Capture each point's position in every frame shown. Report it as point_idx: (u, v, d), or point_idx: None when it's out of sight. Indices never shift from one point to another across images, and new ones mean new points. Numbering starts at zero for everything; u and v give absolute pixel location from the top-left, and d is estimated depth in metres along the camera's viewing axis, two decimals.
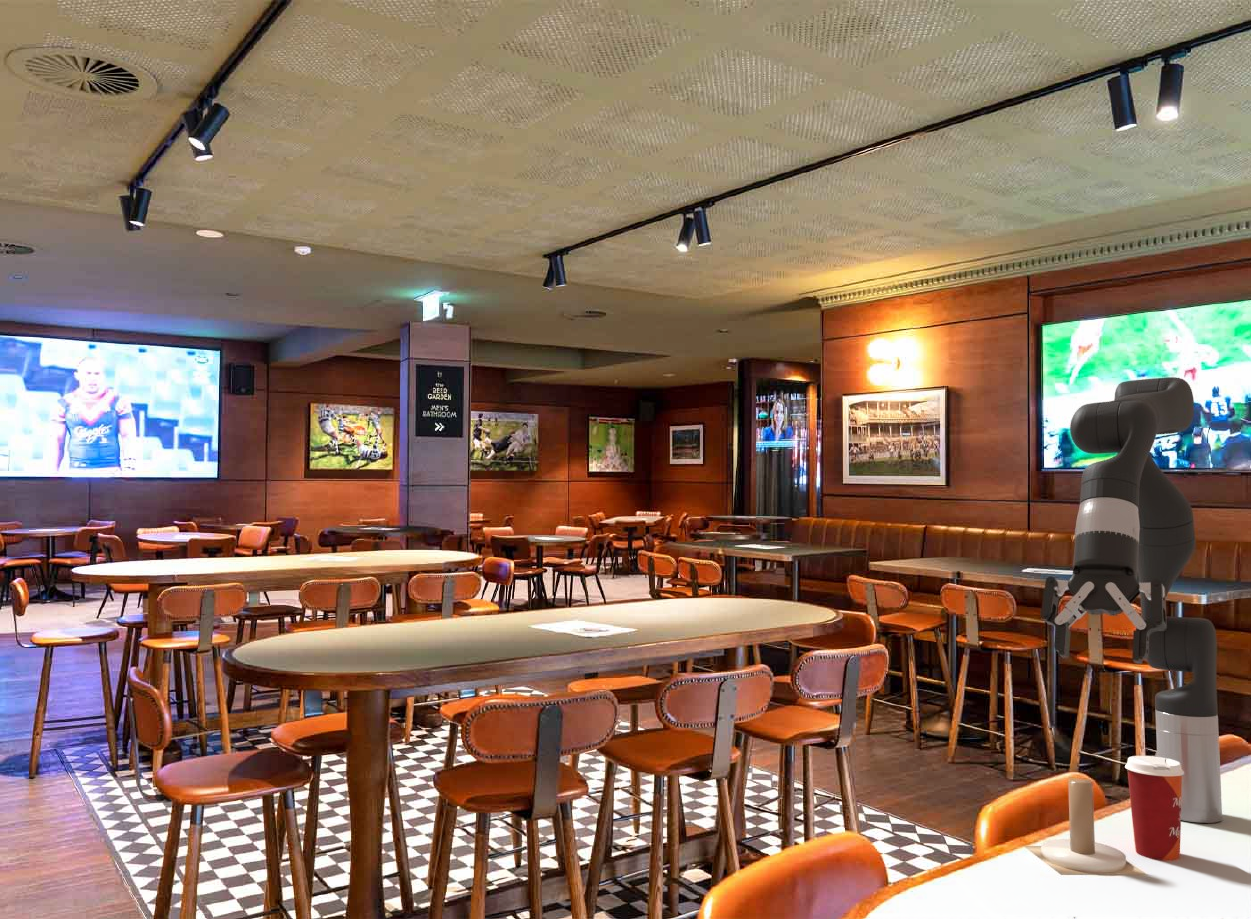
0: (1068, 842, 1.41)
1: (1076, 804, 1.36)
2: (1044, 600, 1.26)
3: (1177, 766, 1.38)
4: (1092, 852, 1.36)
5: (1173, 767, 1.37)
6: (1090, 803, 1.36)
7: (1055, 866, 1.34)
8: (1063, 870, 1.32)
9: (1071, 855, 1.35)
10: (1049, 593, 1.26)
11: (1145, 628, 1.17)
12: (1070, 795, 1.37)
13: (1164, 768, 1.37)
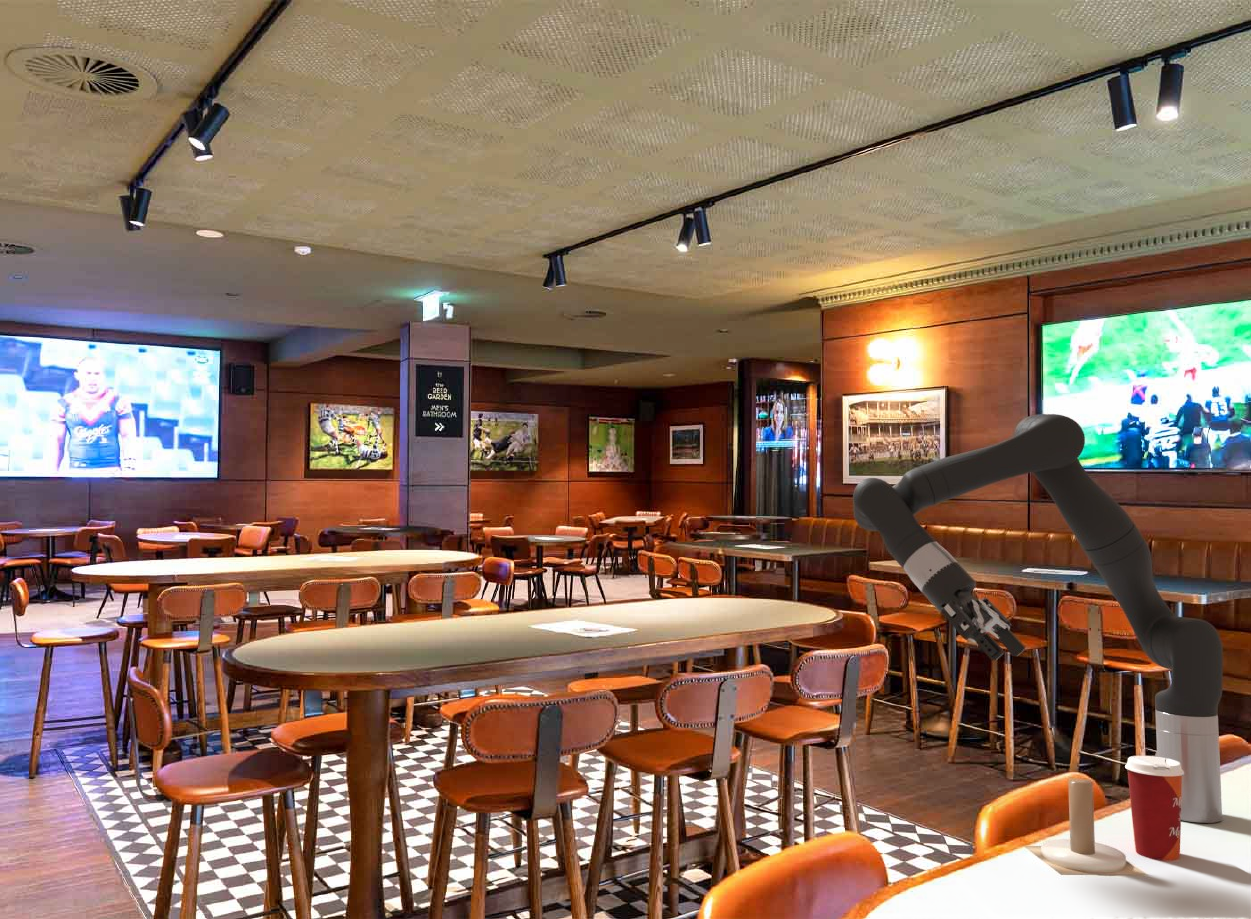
0: (1068, 842, 1.41)
1: (1076, 804, 1.36)
2: None
3: (1177, 766, 1.38)
4: (1092, 852, 1.36)
5: (1173, 767, 1.37)
6: (1090, 803, 1.36)
7: (1055, 866, 1.34)
8: (1063, 870, 1.32)
9: (1071, 855, 1.35)
10: None
11: (973, 640, 1.45)
12: (1070, 795, 1.37)
13: (1164, 768, 1.37)
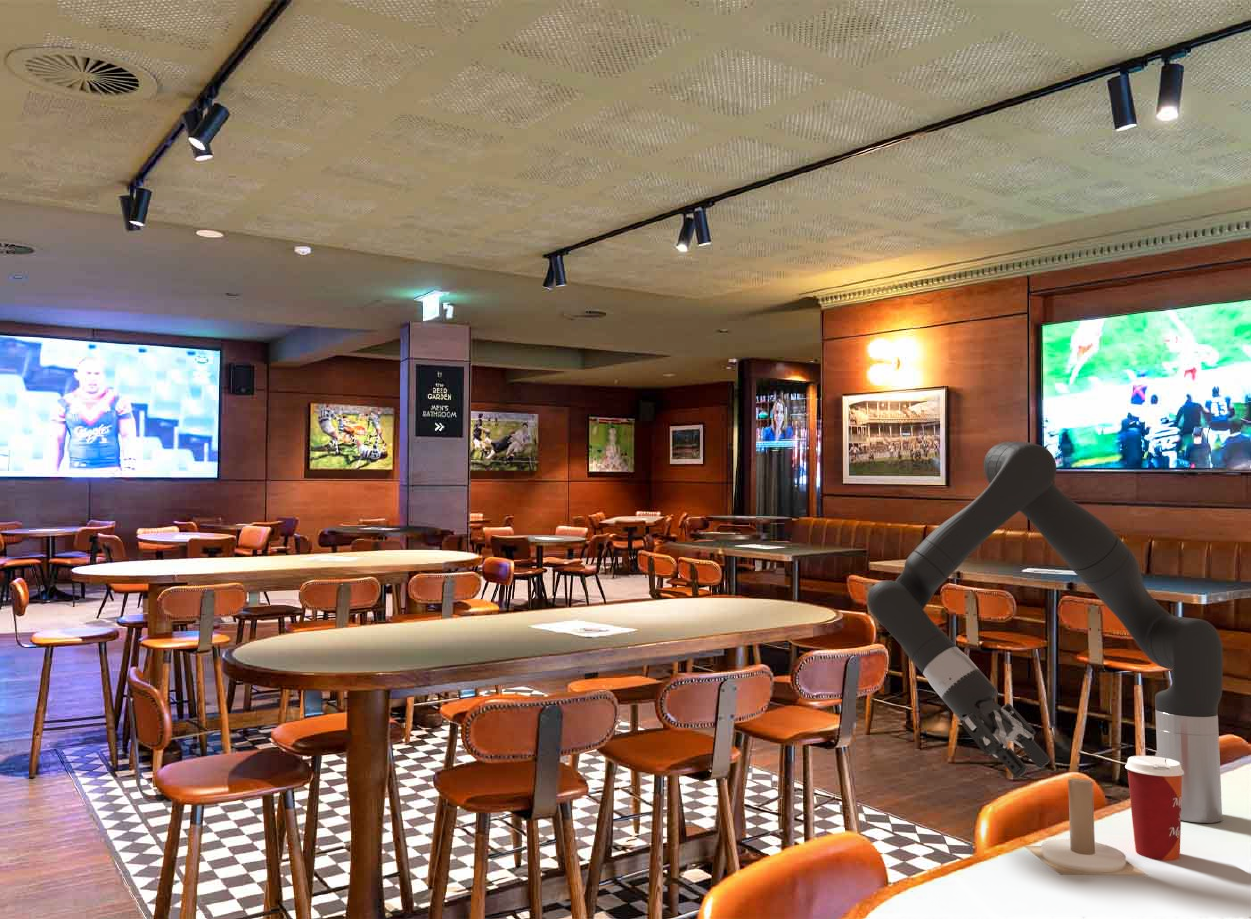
0: (1068, 842, 1.41)
1: (1076, 804, 1.36)
2: None
3: (1177, 766, 1.38)
4: (1092, 852, 1.36)
5: (1173, 767, 1.37)
6: (1090, 803, 1.36)
7: (1055, 866, 1.34)
8: (1063, 870, 1.32)
9: (1071, 855, 1.35)
10: None
11: (995, 755, 1.41)
12: (1070, 795, 1.37)
13: (1164, 768, 1.37)
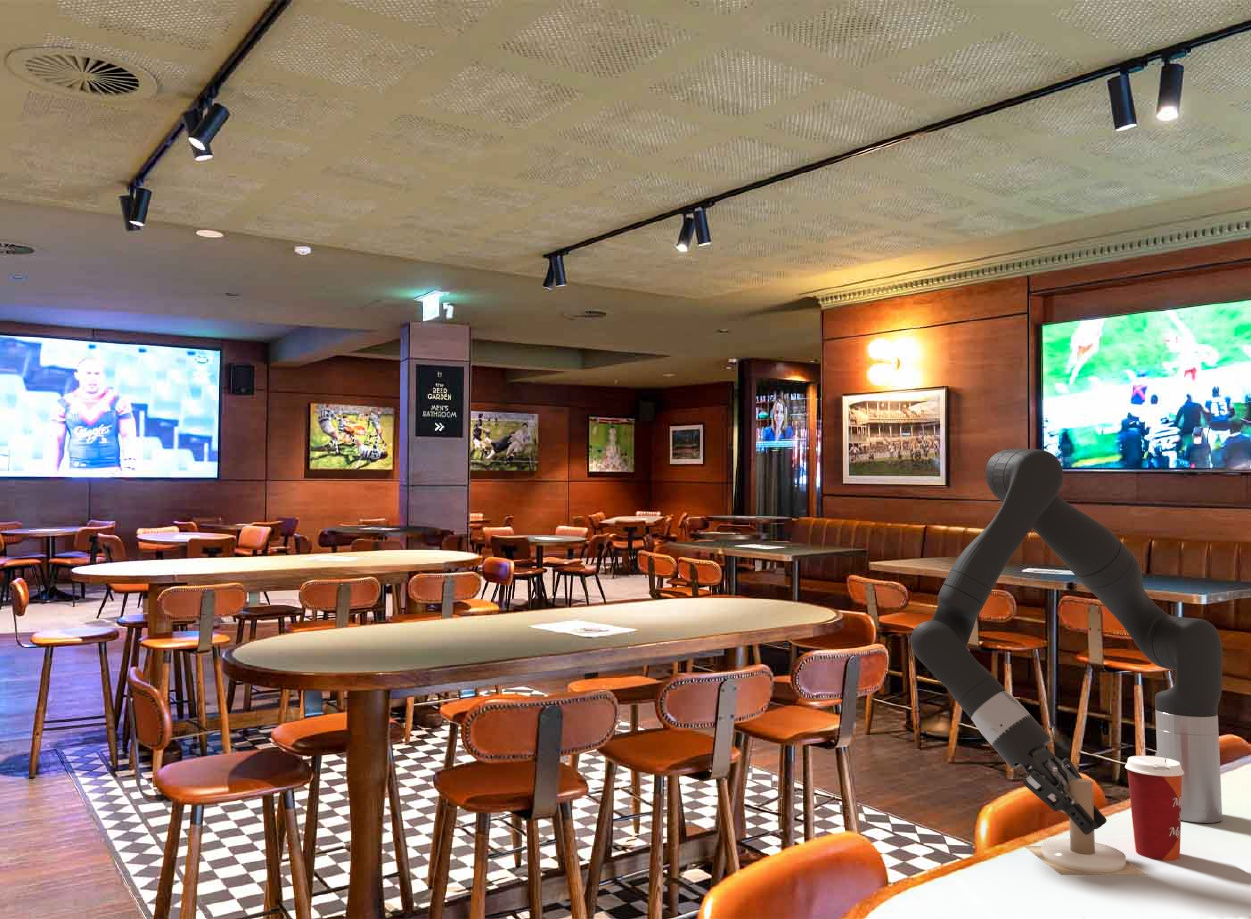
0: (1068, 842, 1.41)
1: (1076, 804, 1.36)
2: None
3: (1177, 766, 1.38)
4: (1092, 852, 1.36)
5: (1173, 767, 1.37)
6: (1090, 803, 1.36)
7: (1055, 866, 1.34)
8: (1063, 870, 1.32)
9: (1071, 855, 1.35)
10: None
11: (1063, 811, 1.36)
12: None
13: (1164, 768, 1.37)
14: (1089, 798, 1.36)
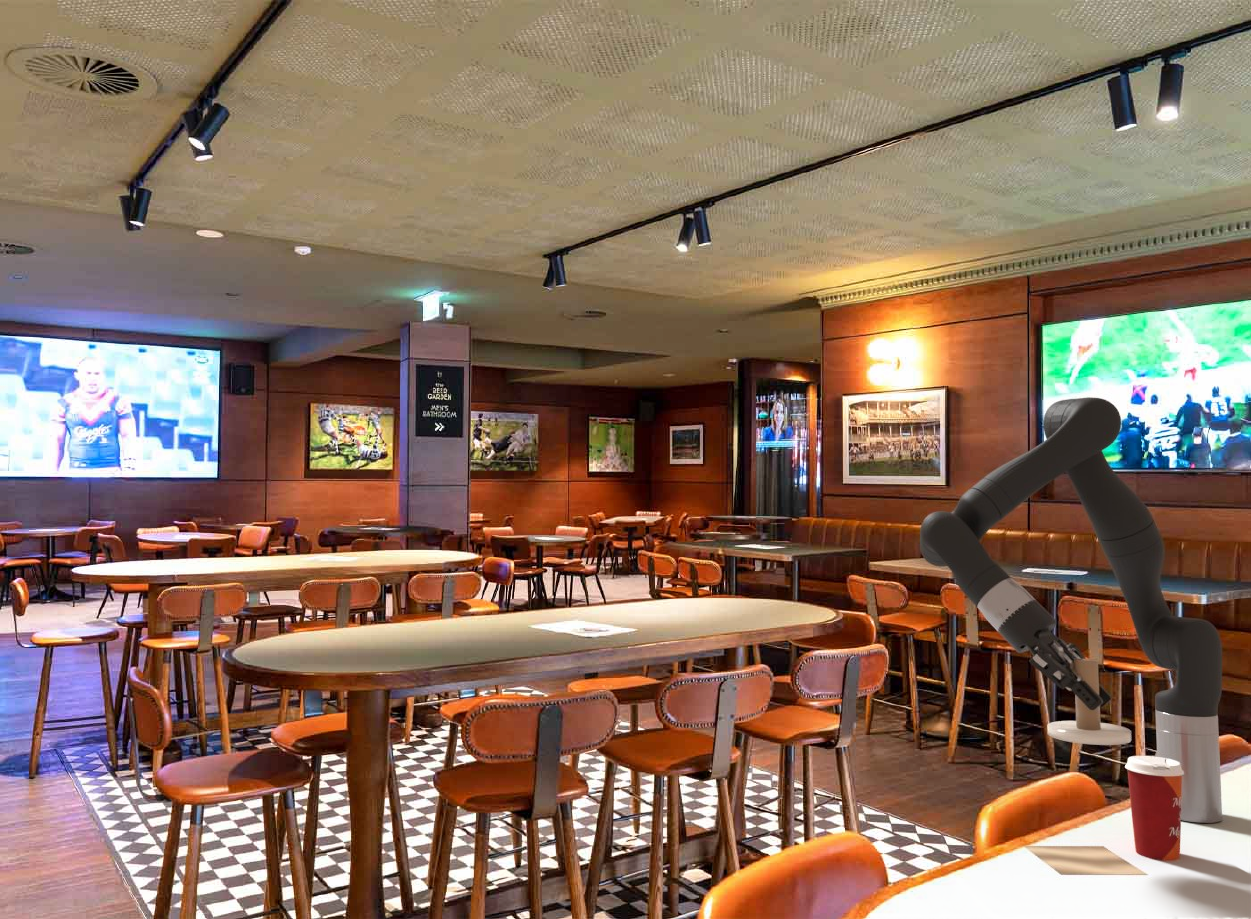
0: (1074, 722, 1.43)
1: None
2: None
3: (1177, 766, 1.38)
4: (1098, 728, 1.37)
5: (1173, 767, 1.37)
6: (1096, 680, 1.38)
7: (1055, 866, 1.34)
8: (1063, 870, 1.32)
9: (1077, 731, 1.37)
10: None
11: (1069, 688, 1.38)
12: None
13: (1164, 768, 1.37)
14: (1094, 675, 1.38)
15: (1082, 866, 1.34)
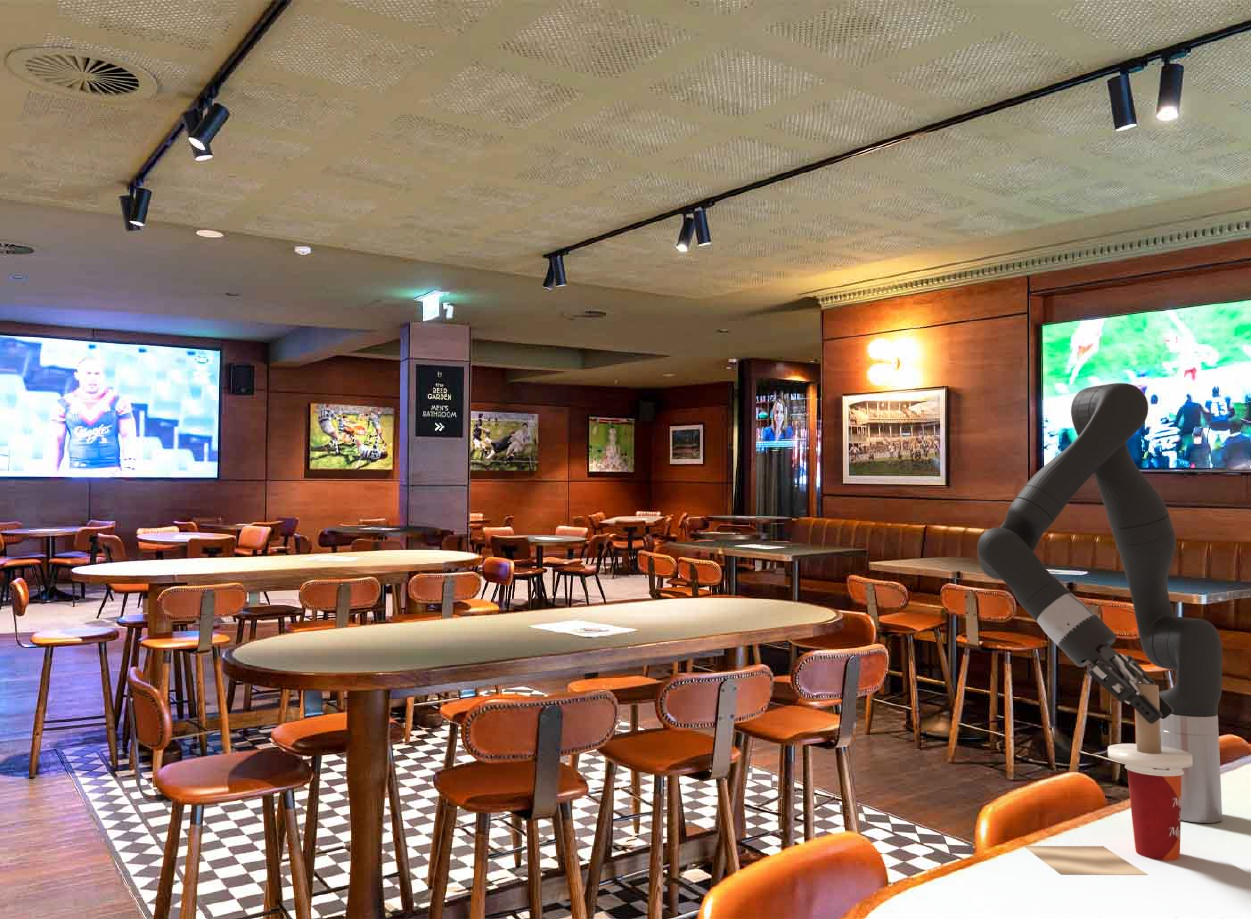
0: (1133, 745, 1.45)
1: None
2: None
3: None
4: (1159, 751, 1.40)
5: None
6: (1157, 704, 1.40)
7: (1055, 866, 1.34)
8: (1063, 870, 1.32)
9: (1139, 754, 1.39)
10: None
11: (1128, 702, 1.40)
12: None
13: None
14: (1155, 699, 1.40)
15: (1082, 866, 1.34)
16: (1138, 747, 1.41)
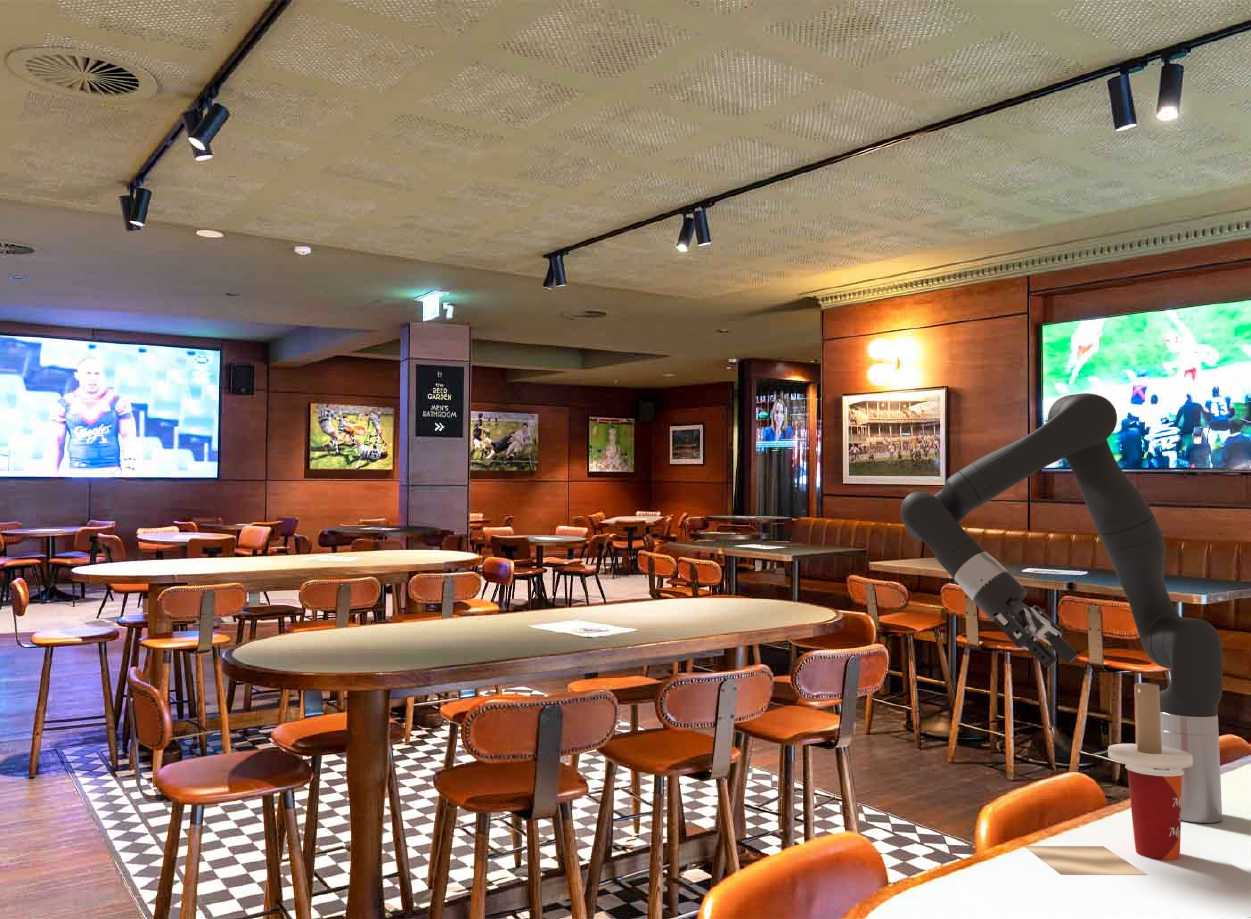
0: (1133, 745, 1.45)
1: (1144, 706, 1.41)
2: None
3: None
4: (1159, 752, 1.40)
5: None
6: (1157, 705, 1.40)
7: (1055, 866, 1.34)
8: (1063, 870, 1.32)
9: (1139, 754, 1.39)
10: None
11: (1026, 648, 1.49)
12: (1137, 698, 1.42)
13: None
14: (1156, 700, 1.40)
15: (1082, 866, 1.34)
16: (1138, 747, 1.41)
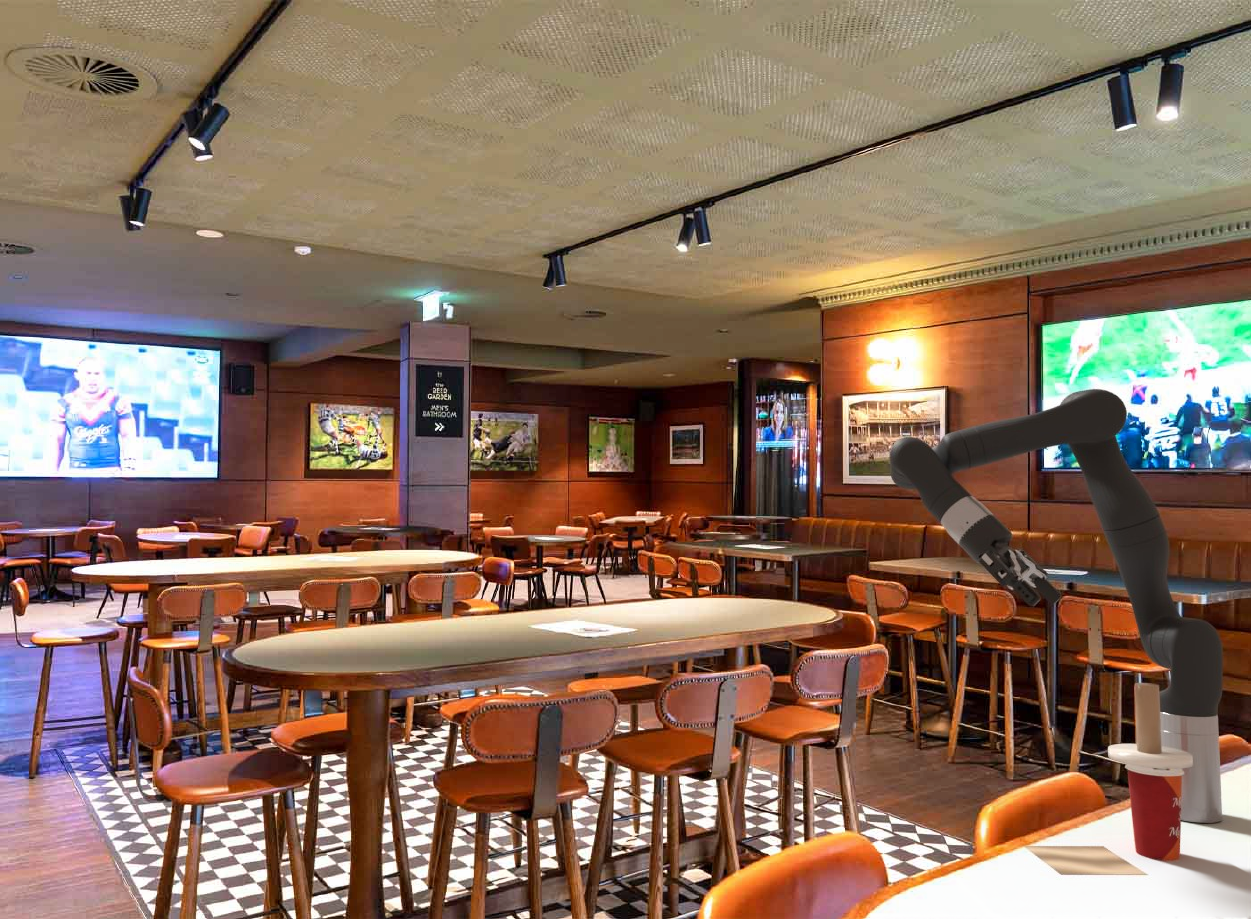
0: (1133, 745, 1.45)
1: (1143, 706, 1.41)
2: None
3: None
4: (1159, 751, 1.40)
5: None
6: (1157, 704, 1.40)
7: (1055, 866, 1.34)
8: (1063, 870, 1.32)
9: (1139, 754, 1.39)
10: None
11: (1011, 587, 1.50)
12: (1137, 698, 1.42)
13: None
14: (1156, 699, 1.40)
15: (1082, 866, 1.34)
16: (1138, 747, 1.41)
